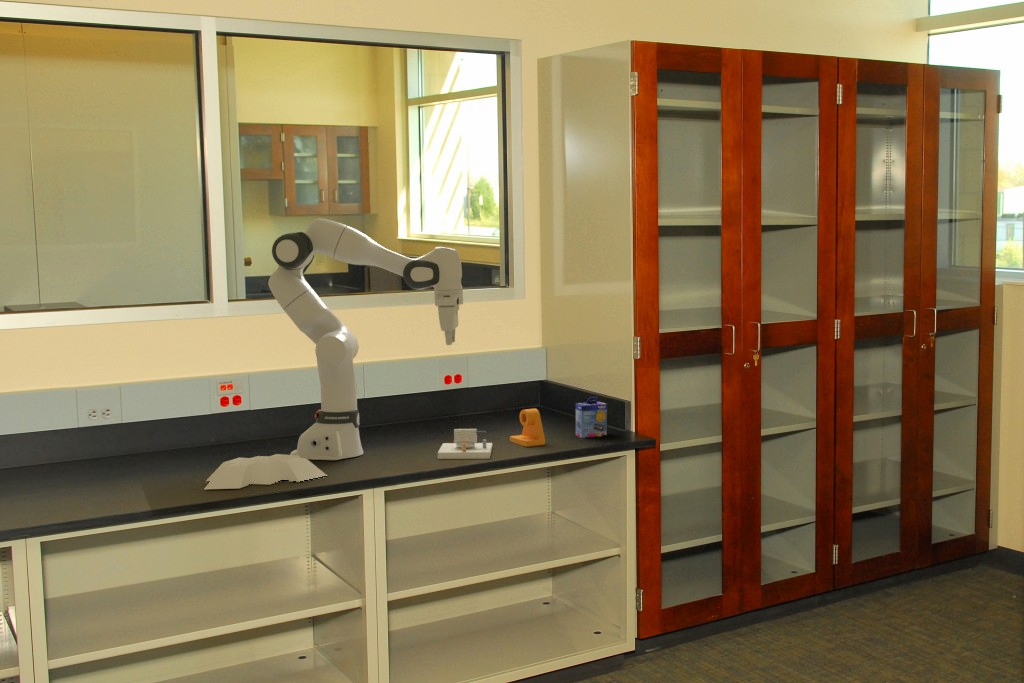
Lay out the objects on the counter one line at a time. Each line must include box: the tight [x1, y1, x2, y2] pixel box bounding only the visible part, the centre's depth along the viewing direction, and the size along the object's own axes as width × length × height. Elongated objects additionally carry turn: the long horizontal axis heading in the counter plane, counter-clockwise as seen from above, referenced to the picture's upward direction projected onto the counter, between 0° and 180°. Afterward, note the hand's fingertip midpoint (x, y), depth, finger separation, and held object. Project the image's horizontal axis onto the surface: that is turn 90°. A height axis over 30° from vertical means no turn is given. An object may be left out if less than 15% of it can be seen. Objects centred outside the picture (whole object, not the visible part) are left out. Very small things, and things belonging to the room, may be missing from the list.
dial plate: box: [437, 438, 493, 460], centre depth 324 cm, size 16×16×4 cm
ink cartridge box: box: [575, 396, 608, 439], centre depth 348 cm, size 10×6×14 cm, turn 113°
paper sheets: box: [203, 453, 328, 490], centre depth 295 cm, size 35×20×6 cm, turn 115°
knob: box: [453, 428, 487, 448], centre depth 324 cm, size 10×6×6 cm, turn 88°
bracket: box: [509, 408, 546, 447], centre depth 337 cm, size 11×7×12 cm, turn 32°
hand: (450, 343), depth 319 cm, fingers open, 8 cm apart
